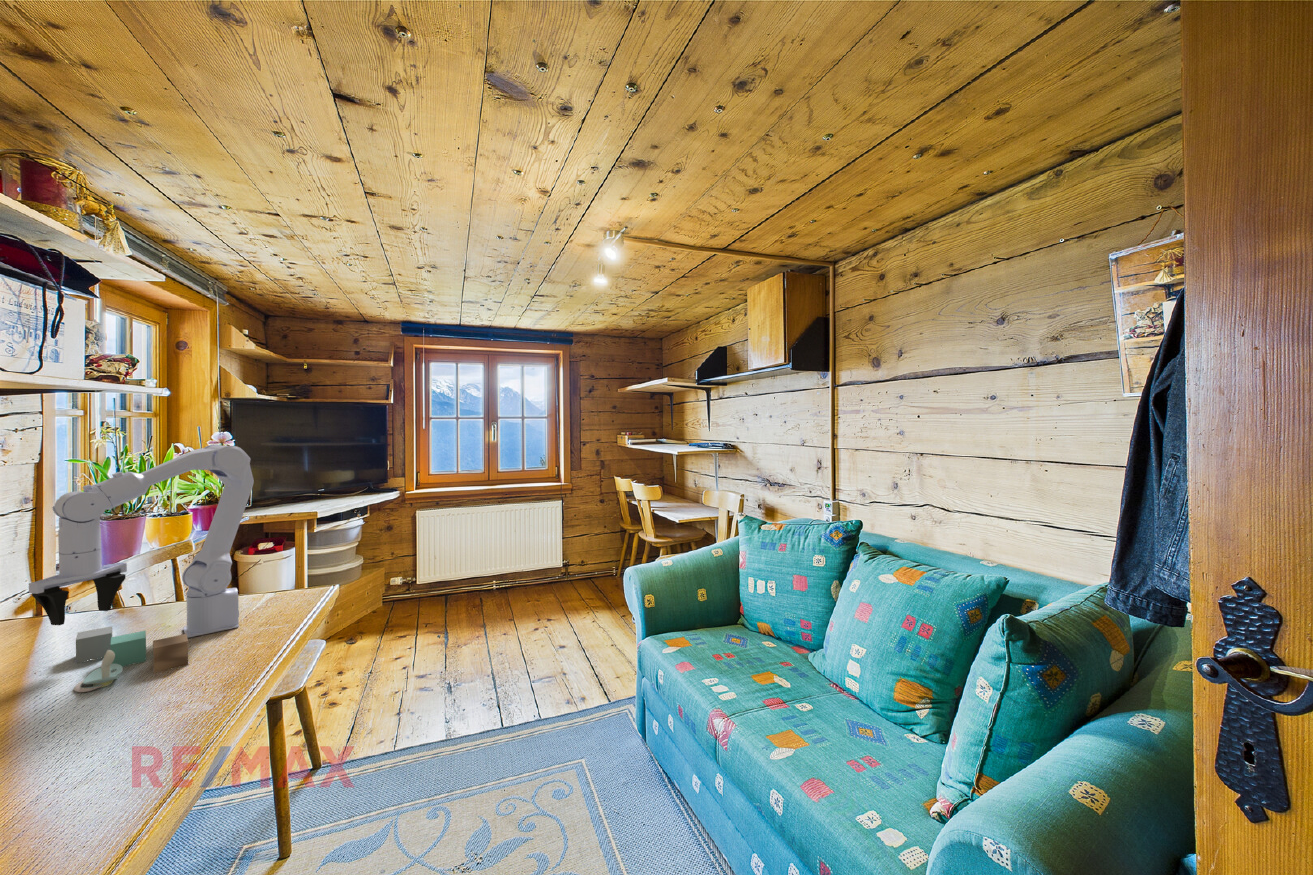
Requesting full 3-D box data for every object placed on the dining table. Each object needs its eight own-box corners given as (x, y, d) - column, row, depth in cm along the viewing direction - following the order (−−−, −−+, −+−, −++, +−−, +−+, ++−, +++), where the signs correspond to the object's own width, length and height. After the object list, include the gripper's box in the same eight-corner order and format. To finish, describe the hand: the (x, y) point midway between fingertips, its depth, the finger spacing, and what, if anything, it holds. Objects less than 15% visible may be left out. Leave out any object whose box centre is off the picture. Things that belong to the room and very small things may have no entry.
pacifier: (69, 699, 91) (118, 687, 95) (67, 664, 91) (115, 654, 95) (79, 682, 97) (124, 672, 101) (77, 650, 97) (122, 641, 101)
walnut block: (186, 657, 108) (186, 633, 108) (188, 665, 104) (188, 640, 104) (153, 664, 104) (153, 640, 104) (153, 673, 101) (153, 648, 101)
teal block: (145, 653, 109) (145, 630, 109) (146, 661, 106) (145, 637, 105) (111, 661, 106) (111, 637, 105) (110, 669, 102) (110, 644, 102)
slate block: (112, 648, 111) (112, 626, 111) (111, 656, 108) (111, 632, 107) (77, 655, 108) (77, 632, 107) (76, 664, 104) (75, 639, 104)
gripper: (107, 541, 111) (108, 603, 112) (14, 559, 97) (16, 629, 97) (134, 543, 110) (135, 605, 111) (45, 561, 96) (47, 632, 96)
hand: (82, 617), depth 104 cm, fingers open, 7 cm apart
